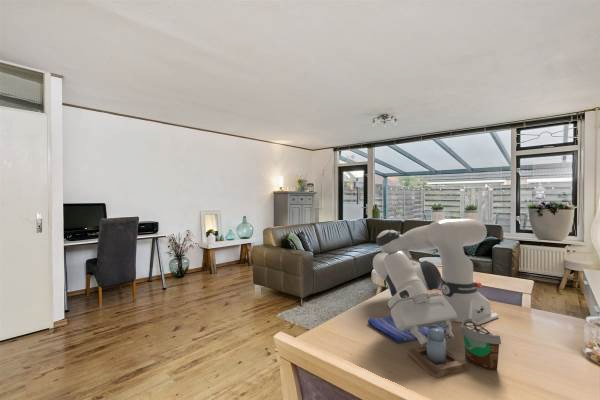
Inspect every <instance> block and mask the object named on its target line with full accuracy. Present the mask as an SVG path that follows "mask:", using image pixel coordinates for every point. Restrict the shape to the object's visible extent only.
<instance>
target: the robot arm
mask: <svg viewBox="0 0 600 400" xmlns="http://www.w3.org/2000/svg"><path fill="white" fill-rule="evenodd" d="M487 230H488V229H487V227H486V225H485V224H484V223H483V222H482V221H480V220H479V219H478V220H477V219H473V218H468V217H467V218H447V219H446V218H445V219H440V220H439V219H438V220H435V221H433V222H431V223H430V224H427V225H421V226H417V227H414V228H412V229H409V230H408V231H406V232H404V233H402V234H401V231H400V230H394V229H386V230H383V231H380V232H379V234H378V235H377V236H376V238H375V242H376V245H377V247H379V248H380V249H379V250H380V251H381V252H378V253H377V254H375V255H374V256H373V258H372V267H373V269H374V272H375V273H376V274H377V276H378V277H379V278H380V279H382V280H384V282H385V284H386V287H387V288H388V290H389V292H390V295H391V298H390V299H389V301H388V302H387V305H388V308H389V309H391V310H390V316H392V318H393V321H394V323H395V325H396V327H397V328H398V329H399V330H400V331H405V330H410V331H411V333H412V334H413V335H414V336H415V337H416V338H417V339H416V340H418V342H419V345H421V346H423V345H425V344H426V345H427V342H428V341H427V336H426V337H425V336H422V335H421V334H420V333H419V332H418V330H419V329H418V328H422V327H428V326H433V325H439V324H441V325H443V327H445V329H446V331H445V332H444V337H445V339H446V340H451V339H454V338H455V335H454V333H453V331H452V323H453V322H456V323H457V322H458V323H463V321H464V320H466V319H472V322H473V323H474V324H476V325H478V326H480V325H482V324H484V323H487V322H490V321H493V320H495V319H497V318H498V319H499V315H498V313H497V312H495V311H493V310H492V308H491V303H490V300H489V299H487V298H486V297H485V296H484V295H483V294H482V293H480V292H479V291H478V289H477V288H479V289H481V288H482V287H483V285H482V283H481V282H478V281H475V282H474V263H473V261H472V260H471V259H470V258H469V257H467V255H466V254H465V251H464V250H465V249H464V247H469V246H470V247H471V246H474V245H475V246H476V245H478V244H479V243H483V242H484V241H485V240H486V239H487V236H488V235H487V234H488V231H487ZM432 250H437V252H438V254H439V257H440V262H441V272H440V270H439V268H438V267H437V266H436V265H435V264H434V263H432V262H430V261H428V260H423V261H421V260H417V259H415V258H413V256H412V255H411V253H410V251H414V252H415V251H416V252H420V251H421V252H423V251H424V252H425V251H432ZM439 287H440V289H441V291H440V293H438V292H434V293H429V292H430V291H433V290H437V289H439Z"/></svg>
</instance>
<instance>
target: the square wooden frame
mask: <svg viewBox="0 0 600 400" xmlns="http://www.w3.org/2000/svg"><path fill="white" fill-rule="evenodd" d="M407 357H409V358H410V359H411V360H412V361H413V362H415V363H416V364H418V365H419V366H420V367H421V368H422V369H424V370H425V371H427V372H428V373H429V374H430V375H432V376H433V377H434V378H438V377H444V376H446V375H451V374H454V373H455V374H456V373H460V372H464V371H467V370H469V368H468V364H469V362H468V361H465V360H463V359H462V358H460V357H458V356H457V355H456V354H454V353H453V352H451V351H449V350H448V349H446V363H443V364H439V365H435V364H434V363H432V362H431V361H429V360H428V359H427V345H426V346H422V347H416V348H411V349H408V350H407Z"/></svg>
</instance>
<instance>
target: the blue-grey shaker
mask: <svg viewBox="0 0 600 400" xmlns="http://www.w3.org/2000/svg"><path fill="white" fill-rule="evenodd" d="M444 333H445V332H444V330H443V329H442V328H440V327H436V326H430V327H429V335H427V336H426V339H427V341H428V342H427V343H426V346H427V359H428V360H429V361H431V362H432V363H434V364H435V365H439V364H443V363H446V350H447V338H446V337H445V334H444Z"/></svg>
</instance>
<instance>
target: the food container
mask: <svg viewBox="0 0 600 400" xmlns="http://www.w3.org/2000/svg"><path fill="white" fill-rule="evenodd" d="M460 332H461V333H462V335H463V340H464V341H463V343H464V354H465V359H466V362H468V363H470V364H471V365H473V366H475V367H477V368H479V369H484V370H487V371H488V370H489V371H498V366H499V365H498V364H499V363H498V362H499V352H500V351H499V349H500V345H501V344H502V340H501V336H500V335H495V334H492V333H491V332H490V331H488V330H487V329H486V328H484V327H482V326H480V325H476V324H474V323H473V322H472V319H466V320H464V321H463V322H461V326H460Z"/></svg>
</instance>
